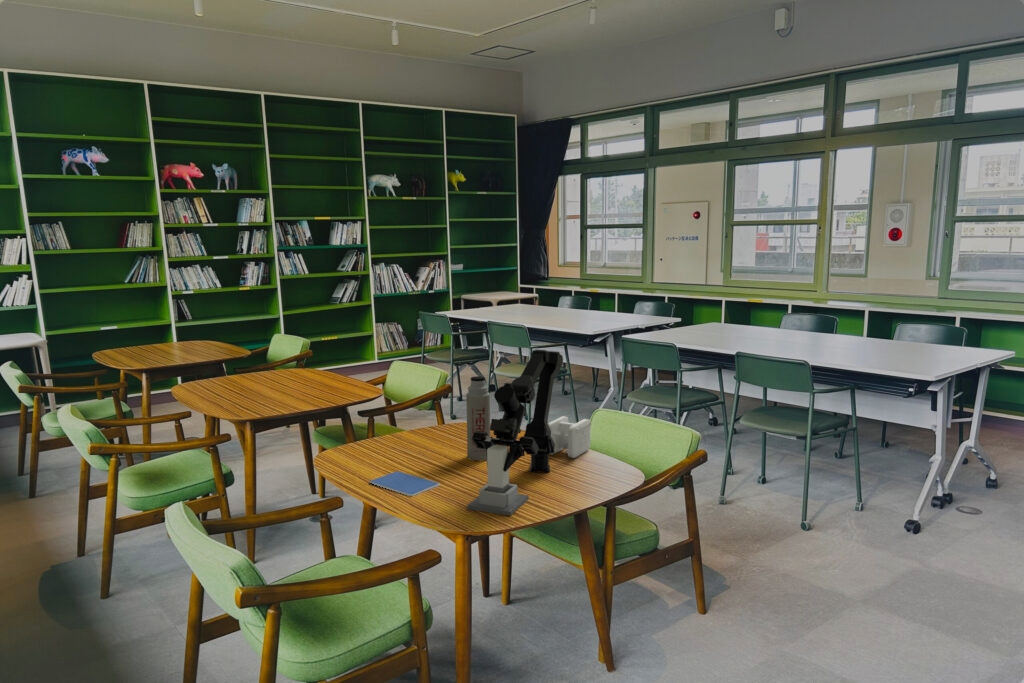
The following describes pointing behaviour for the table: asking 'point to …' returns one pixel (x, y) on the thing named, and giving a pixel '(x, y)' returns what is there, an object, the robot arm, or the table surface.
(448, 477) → the table surface
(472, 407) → the thermos bottle
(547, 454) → the robot arm
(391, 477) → the blue spiral notebook
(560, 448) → the cable organizer
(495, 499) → the socket
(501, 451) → the plug
